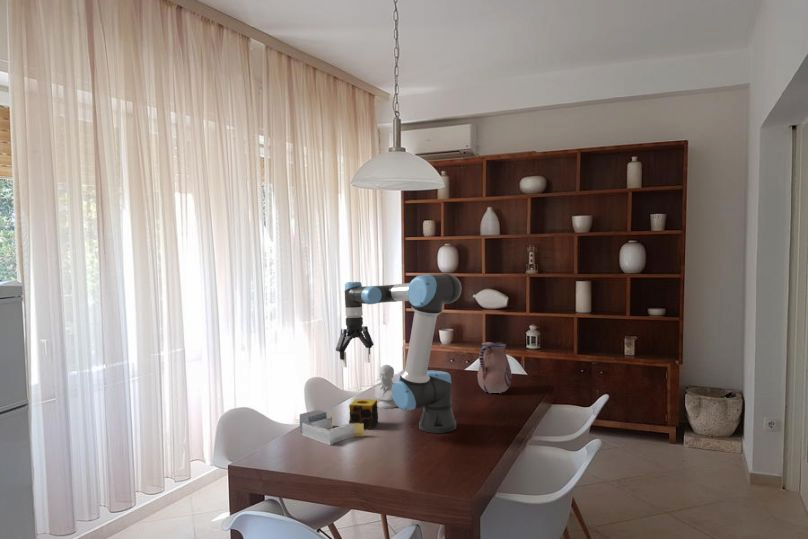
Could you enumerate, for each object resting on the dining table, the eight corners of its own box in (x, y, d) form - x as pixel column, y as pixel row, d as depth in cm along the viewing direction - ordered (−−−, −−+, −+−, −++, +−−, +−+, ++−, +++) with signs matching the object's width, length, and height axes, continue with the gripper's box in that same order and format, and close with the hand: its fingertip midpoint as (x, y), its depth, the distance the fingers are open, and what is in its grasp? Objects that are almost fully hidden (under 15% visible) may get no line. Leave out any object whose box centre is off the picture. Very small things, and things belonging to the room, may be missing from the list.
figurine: (395, 409, 257) (394, 367, 256) (370, 407, 262) (370, 365, 261) (403, 404, 265) (403, 364, 265) (379, 402, 270) (379, 362, 270)
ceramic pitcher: (517, 390, 289) (516, 342, 289) (501, 399, 272) (500, 348, 271) (486, 386, 299) (485, 340, 298) (468, 395, 281) (468, 345, 281)
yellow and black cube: (372, 430, 227) (372, 405, 227) (348, 429, 229) (348, 404, 229) (378, 422, 237) (378, 399, 237) (355, 421, 239) (355, 398, 239)
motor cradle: (365, 435, 220) (364, 418, 219) (332, 446, 208) (332, 427, 208) (327, 423, 237) (326, 407, 236) (295, 432, 225) (294, 415, 225)
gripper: (369, 314, 259) (370, 359, 259) (326, 318, 240) (328, 368, 241) (380, 314, 253) (381, 361, 253) (337, 319, 235) (339, 369, 235)
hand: (355, 364), depth 247 cm, fingers open, 13 cm apart
